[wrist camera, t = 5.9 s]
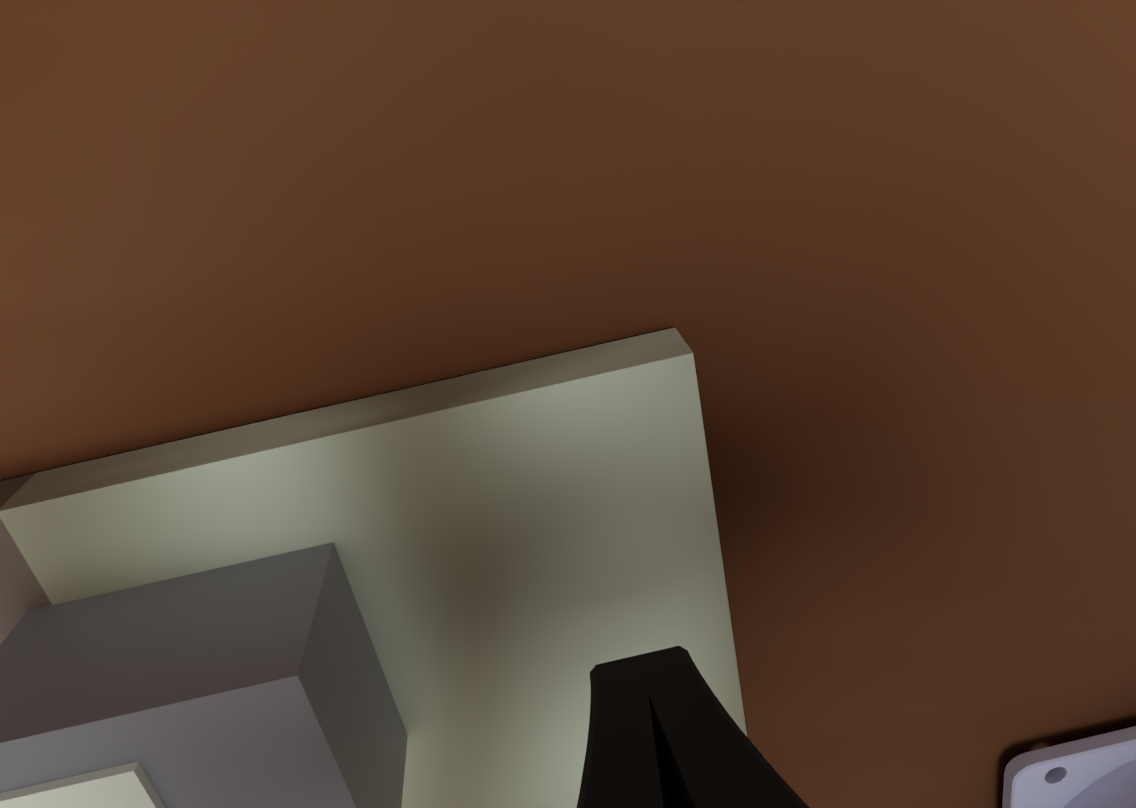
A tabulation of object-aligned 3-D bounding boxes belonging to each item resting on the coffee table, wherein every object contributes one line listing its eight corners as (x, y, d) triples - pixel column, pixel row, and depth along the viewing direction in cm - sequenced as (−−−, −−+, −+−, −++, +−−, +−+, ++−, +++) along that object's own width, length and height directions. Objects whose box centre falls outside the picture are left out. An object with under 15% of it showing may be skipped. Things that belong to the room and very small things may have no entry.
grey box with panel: (333, 542, 13) (294, 684, 10) (407, 735, 15) (393, 901, 12) (26, 610, 13) (-100, 774, 10) (141, 796, 15) (61, 978, 12)
